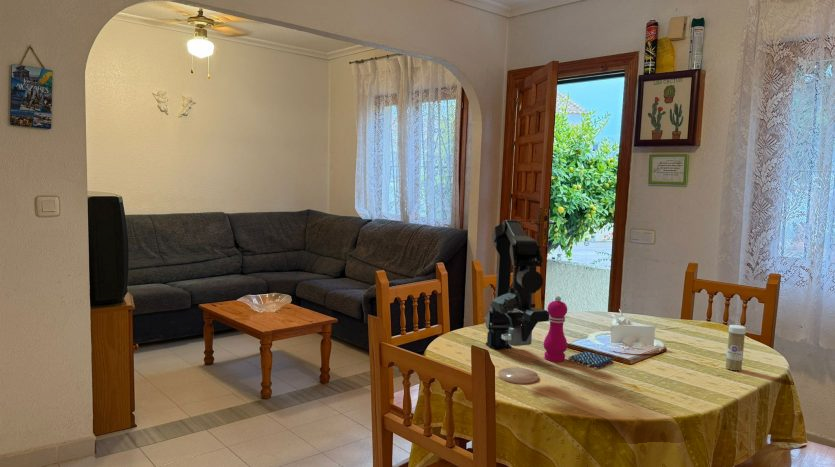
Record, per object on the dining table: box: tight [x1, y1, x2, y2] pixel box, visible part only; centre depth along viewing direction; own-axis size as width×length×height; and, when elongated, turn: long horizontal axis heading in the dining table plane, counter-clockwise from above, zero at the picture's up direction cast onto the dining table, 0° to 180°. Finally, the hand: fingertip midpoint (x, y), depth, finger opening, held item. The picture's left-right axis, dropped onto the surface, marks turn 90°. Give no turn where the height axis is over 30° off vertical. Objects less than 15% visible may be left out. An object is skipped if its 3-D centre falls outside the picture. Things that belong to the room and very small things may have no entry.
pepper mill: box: [543, 295, 568, 363], centre depth 185 cm, size 7×7×20 cm
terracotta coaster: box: [498, 367, 539, 385], centre depth 169 cm, size 11×11×1 cm
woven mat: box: [567, 350, 614, 370], centre depth 184 cm, size 10×11×2 cm
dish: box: [587, 308, 665, 350], centre depth 204 cm, size 25×25×11 cm
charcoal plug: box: [501, 325, 533, 347], centre depth 167 cm, size 9×4×4 cm, turn 114°
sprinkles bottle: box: [725, 324, 747, 371], centre depth 180 cm, size 5×5×13 cm
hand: (520, 339), depth 167 cm, fingers closed on charcoal plug, 4 cm apart
